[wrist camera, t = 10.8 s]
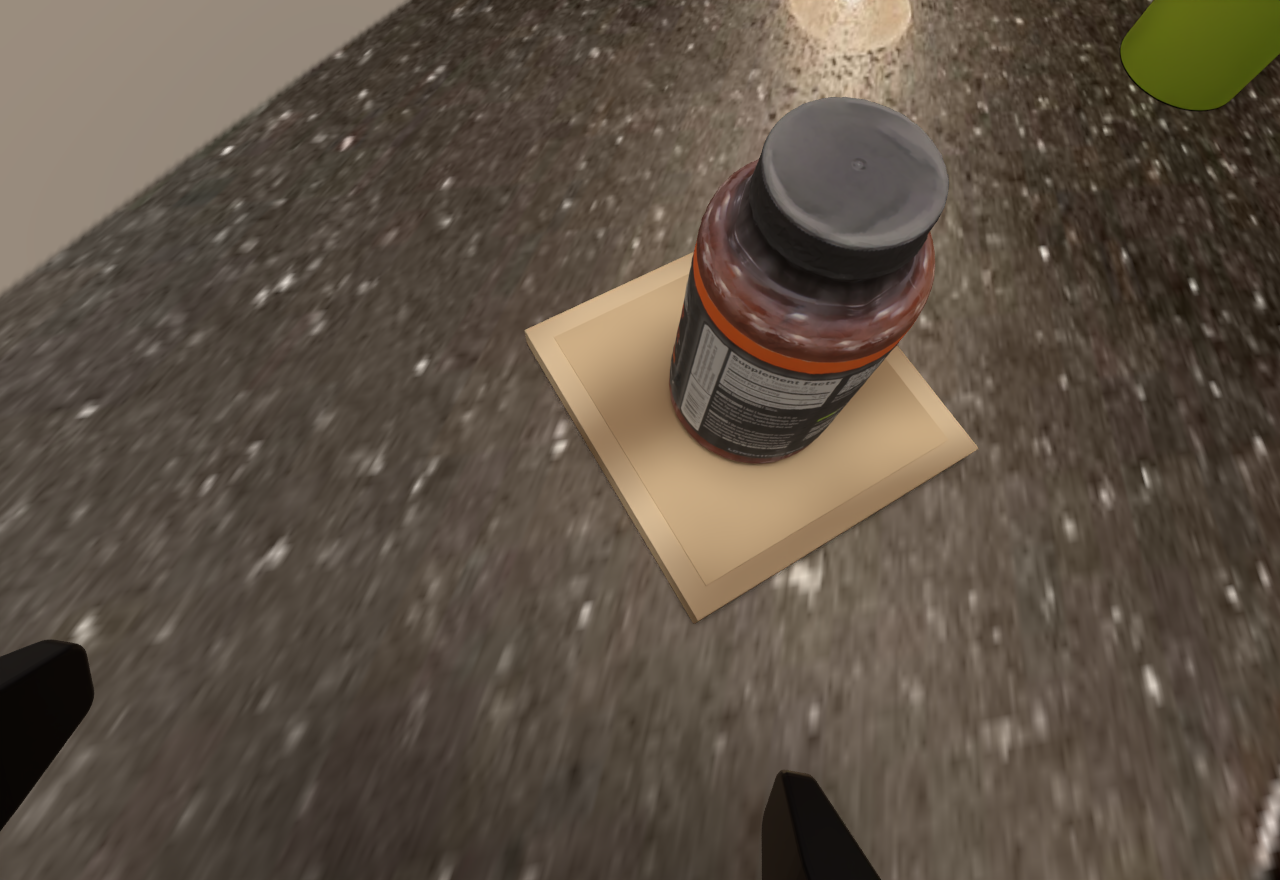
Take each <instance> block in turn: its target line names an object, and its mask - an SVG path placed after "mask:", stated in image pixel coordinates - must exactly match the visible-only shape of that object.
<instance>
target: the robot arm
mask: <svg viewBox="0 0 1280 880" xmlns="http://www.w3.org/2000/svg"><path fill="white" fill-rule="evenodd" d="M93 699H94V687H93V682H92V678H91V673H90V668H89V663H88V658H87V654H86V651H85V649H84V648H83V647H82V646H81V645H79V644H75V643H70V642H64V641H58V640H43V641H40V642H37V643H34V644H32V645H29V646H27V647H24V648H21V649H19V650H16V651H14V652H11V653H9V654H6V655H3V656H1V657H0V831H1V830H2V828H3V827H4V826H5V824H6V823H7V822H8V821H9V819H10V818H11V817H12V815H13V814H14V813H15V811H16V810H17V809H18V807H19V806H20V805H21V803H22V802H23V801H24V799H25V798H26V797H27V795H28V794H29V792H30V791H31V790H32V788H33V787H34V786H35V784H36V783H37V781H38V780H39V779H40V777H41V776H42V775H43V773H44V772H45V770H46V769H47V768H48V766H49V765H50V764H51V762H52V761H53V760H54V758H55V757H56V755H57V754H58V753H59V751H60V750H61V749H62V747H63V746H64V744H65V743H66V742H67V740H68V739H69V738H70V736H71V735H72V733H73V732H74V731H75V729H76V728H77V727H78V725H79V724H80V723H81V721H82V720H83V718H84V717H85V716H86V714H87V713H88V711H89V709H90V707H91V705H92V702H93ZM762 880H881V879H880V877H879V876H878V874H877V873H876V871H875V870H874V868H873V867H872V865H871V864H870V862H869V861H868V859H867V858H866V856H865V854H864V853H863V851H862V850H861V848H860V847H859V845H858V844H857V842H856V841H855V839H854V838H853V836H852V835H851V833H850V832H849V830H848V829H847V827H846V826H845V824H844V823H843V821H842V820H841V818H840V816H839V815H838V813H837V812H836V810H835V809H834V807H833V806H832V804H831V803H830V801H829V800H828V798H827V797H826V795H825V794H824V792H823V791H822V789H821V788H820V786H819V785H818V783H817V781H816V780H815V779H814V778H813V777H812V776H811V775H809V774H806V773H800V772H794V771H789V770H781V771H780V772H779V773H778V774H777V776H776V779H775V782H774V785H773V788H772V791H771V794H770V796H769V799H768V802H767V805H766V808H765V811H764V815H763V821H762Z"/></svg>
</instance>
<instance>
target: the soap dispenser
mask: <svg viewBox="0 0 1280 880" xmlns="http://www.w3.org/2000/svg"><path fill="white" fill-rule="evenodd" d="M1279 54H1280V0H1154V1H1153V2H1152V3H1151V4H1150V6H1149V7H1148V8H1147V9H1146V11H1145V12H1144V13H1143V14H1142V16H1141V17H1140V18H1139V19H1138V21H1137V22H1136V23H1135V24H1134V26H1133V27H1132V28H1131V29H1130V31H1129V32H1128V33H1127V35H1126V36H1125V37H1124V39H1123V41H1122V44H1121V59H1122V62H1123V65H1124V67H1125V69H1126V71H1127V72H1128V74H1129V75H1130V77H1131V78H1132V79H1133V80H1134V81H1135V83H1136V84H1137V85H1139V86H1140V87H1141V88H1142V89H1143V90H1144V91H1146V92H1147V93H1149V94H1150V95H1152V96H1153V97H1155V98H1157V99H1158V100H1160V101H1162V102H1165V103H1167V104H1170V105H1172V106H1175V107H1179V108H1183V109H1189V110H1210V109H1215V108H1218V107H1220V106H1223V105H1225V104H1226V103H1228V102H1229V101H1230V100H1231V99H1232V98H1233V97H1234V96H1236V95H1237V94H1238V93H1239V92H1240V91H1241V90H1242V89H1243V88H1244V87H1245V86H1246V85H1247V84H1248V83H1249V82H1250V81H1251V80H1252V79H1253V78H1254V77H1255V76H1257V75H1258V74H1259V73H1260V72H1261V71H1262V70H1263V69H1264V68H1265V67H1266V66H1267V65H1268V64H1269V63H1270V62H1271V61H1272V60H1273V59H1274V58H1275V57H1277V56H1278V55H1279Z"/></svg>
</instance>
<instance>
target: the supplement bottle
mask: <svg viewBox="0 0 1280 880" xmlns="http://www.w3.org/2000/svg"><path fill="white" fill-rule="evenodd" d="M948 188H949V179H948V174H947V172H946V166H945V164H944V161H943V158H942V155H941V153H940V152H939V150H938V149H937V148H936V146H935V144H934V143H933V141H932V140H931V139H930V138H929V137H928V135H927V134H926V133H925V132H924V131H923V130H922V129H921V128H920V127H919V126H918V125H917V124H915V123H913V122H912V121H911V120H910V119H908V118H907V117H906V116H905V115H903V114H901V113H899V112H896V111H894V110H892V109H890V108H888V107H886V106H883V105H880V104H877V103H875V102H870V101H868V100H865V99H856V98H848V97H842V98H840V97H830V98H823V99H819V100H815V101H812V102H808V103H805V104H802V105H801V106H799V107H797V108H795V109H794V110H792V111H790V112H789V113H787V114H786V115H785V116H784V117H783V118H781V119H780V120H779V121H778V122H777V124H776V125H775V126H774V127H773V129H772V130H771V132H770V133H769V135H768V137H767V139H766V141H765V143H764V146H763V149H762V153H761V156H760V158H759V159H758V160H756V161H754V162H751V163H749V164H747V165H746V166H744V167H743V168H741V169H739V170H738V171H737V172H734V173H733V175H731V176H730V177H729V178H728V180H726V181H725V182H724V183H723V184H722V185H721V186H720V187H719V189H718V190H717V192H716V193H715V195H714V197H713V198H712V199H711V201H710V203H709V205H708V206H707V209H706V212H705V214H704V216H703V217H702V222H701V225H700V228H699V232H698V237H697V242H696V246H695V250H694V253H693V257H692V262H691V268H690V272H689V277H688V282H687V286H686V292H685V298H684V303H683V308H682V313H681V317H680V322H679V326H678V330H677V335H676V340H675V344H674V347H673V353H672V357H671V366H670V378H669V387H670V395H671V401H672V404H673V407H674V410H675V412H676V415H677V416H678V418H679V420H680V421H681V423H682V424H683V425H684V427H685V428H686V430H687V431H688V432H689V433H690V435H691V436H692V437H693V438H695V439H696V440H697V441H698V442H699V443H700V444H701V445H702V446H704V447H705V448H707V449H708V450H710V451H712V452H714V453H716V454H718V455H720V456H722V457H724V458H727V459H730V460H734V461H737V462H744V463H751V464H763V463H773V462H776V461H779V460H782V459H785V458H788V457H790V456H793V455H795V454H797V453H798V452H800V451H801V450H803V449H805V448H806V447H807V446H809V445H810V444H811V443H812V442H813V441H814V440H815V439H816V438H818V437H819V436H820V435H821V433H822V432H823V431H824V430H825V429H826V428H827V427H828V426H829V425H830V423H831V422H832V421H833V420H834V419H835V417H836V416H837V415H838V414H839V413H840V412H841V410H842V409H843V408H844V407H845V406H846V405H847V403H848V402H849V401H850V400H851V398H852V397H853V396H854V395H855V394H856V393H857V392H858V390H859V389H860V388H861V387H862V386H863V385H864V384H865V382H866V381H867V379H868V378H869V377H870V376H871V375H872V374H873V372H874V371H875V370H876V369H877V368H878V367H879V365H880V364H881V363H882V362H883V361H884V359H885V358H886V357H887V356H888V355H889V353H890V352H891V351H892V350H893V349H894V348H895V347H896V346H897V344H898V343H899V341H900V340H901V339H902V338H903V336H904V335H905V334H906V333H907V332H908V330H909V329H910V328H911V327H912V325H913V324H914V322H915V321H916V319H917V318H918V316H919V314H920V312H921V311H922V309H923V307H924V306H925V304H926V301H927V299H928V296H929V294H930V291H931V289H932V285H933V280H934V272H935V251H934V246H933V240H932V236H931V231H930V230H931V229H932V227H933V226H934V225H935V223H936V222H937V220H938V219H939V217H940V215H941V213H942V211H943V209H944V207H945V203H946V200H947V195H948Z"/></svg>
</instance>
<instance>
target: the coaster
mask: <svg viewBox="0 0 1280 880" xmlns="http://www.w3.org/2000/svg"><path fill="white" fill-rule="evenodd" d="M693 253H694V252H693ZM693 253H691V254H688V255H686V256H684V257H682V258H680V259H678V260H675V261H673V262H671V263H669V264H667V265H665V266H662V267H660V268H658V269H656V270H654V271H652V272H649V273H647V274H645V275H643V276H641V277H639V278H637V279H634V280H632V281H630V282H628V283H626V284H624V285H621V286H619V287H617V288H615V289H613V290H611V291H608V292H606V293H604V294H602V295H600V296H598V297H595V298H593V299H591V300H589V301H587V302H585V303H582V304H580V305H578V306H576V307H574V308H572V309H570V310H567V311H565V312H563V313H561V314H559V315H557V316H554V317H552V318H550V319H548V320H546V321H544V322H541V323H539V324H537V325H535V326H533V327H531V328H528V329H526V330H525V335H526V341H527V344H528V346H529V348H530V349H531V351H532V353H533V355H534V356H535V358H536V360H537V361H538V363H539V365H540V366H541V368H542V370H543V371H544V373H545V375H546V376H547V378H548V380H549V381H550V383H551V385H552V386H553V388H554V390H555V392H556V393H557V395H558V397H559V398H560V400H561V402H562V403H563V405H564V407H565V408H566V410H567V412H568V413H569V415H570V417H571V418H572V420H573V422H574V423H575V425H576V427H577V429H578V430H579V432H580V434H581V435H582V437H583V439H584V440H585V442H586V444H587V445H588V447H589V449H590V450H591V452H592V454H593V455H594V457H595V459H596V460H597V462H598V464H599V466H600V467H601V469H602V471H603V472H604V474H605V476H606V477H607V479H608V481H609V482H610V484H611V486H612V487H613V489H614V491H615V492H616V494H617V496H618V498H619V499H620V501H621V503H622V504H623V506H624V508H625V509H626V511H627V513H628V514H629V516H630V518H631V519H632V521H633V523H634V524H635V526H636V528H637V529H638V531H639V533H640V535H641V536H642V538H643V540H644V541H645V543H646V545H647V546H648V548H649V550H650V551H651V553H652V555H653V556H654V558H655V560H656V561H657V563H658V565H659V566H660V568H661V570H662V572H663V573H664V575H665V577H666V578H667V580H668V582H669V583H670V585H671V587H672V588H673V590H674V592H675V593H676V595H677V597H678V598H679V600H680V602H681V604H682V605H683V607H684V609H685V610H686V612H687V614H688V615H689V617H690V619H691V620H692V622H693V624H695V623H697V622H698V621H700V620H701V619H703V618H705V617H706V616H708V615H710V614H711V613H713V612H714V611H716V610H718V609H719V608H721V607H723V606H724V605H726V604H727V603H729V602H731V601H732V600H734V599H736V598H737V597H739V596H740V595H742V594H744V593H745V592H747V591H749V590H750V589H752V588H753V587H755V586H757V585H758V584H760V583H762V582H763V581H765V580H767V579H768V578H770V577H771V576H773V575H775V574H776V573H778V572H780V571H781V570H783V569H784V568H786V567H788V566H789V565H791V564H793V563H794V562H796V561H797V560H799V559H801V558H802V557H804V556H806V555H807V554H809V553H810V552H812V551H814V550H815V549H817V548H819V547H820V546H822V545H823V544H825V543H827V542H828V541H830V540H832V539H833V538H835V537H836V536H838V535H840V534H841V533H843V532H845V531H846V530H848V529H850V528H851V527H853V526H854V525H856V524H858V523H859V522H861V521H863V520H864V519H866V518H867V517H869V516H871V515H872V514H874V513H876V512H877V511H879V510H880V509H882V508H884V507H885V506H887V505H889V504H890V503H892V502H893V501H895V500H897V499H898V498H900V497H902V496H903V495H905V494H906V493H908V492H910V491H911V490H913V489H915V488H916V487H918V486H919V485H921V484H923V483H924V482H926V481H928V480H929V479H931V478H933V477H934V476H936V475H937V474H939V473H941V472H942V471H944V470H946V469H947V468H949V467H950V466H952V465H954V464H955V463H957V462H959V461H960V460H962V459H963V458H965V457H967V456H968V455H970V454H971V453H973V452H974V451H975V450H977V449H978V447H977V446H976V445H975V443H974V442H973V441H972V440H971V438H970V437H969V436H968V434H967V433H966V432H965V431H964V429H963V428H962V427H961V426H960V424H959V423H958V422H957V421H956V419H955V418H954V417H953V415H952V414H951V413H950V412H949V410H948V409H947V408H946V407H945V405H944V404H943V403H942V401H941V400H940V399H939V398H938V396H937V395H936V394H935V393H934V391H933V390H932V389H931V388H930V386H929V385H928V384H927V382H926V381H925V380H924V379H923V377H922V376H921V375H920V374H919V372H918V371H917V370H916V369H915V367H914V366H913V365H912V363H911V362H910V361H909V360H908V358H907V357H906V356H905V355H904V353H903V352H902V351H901V350H900V348H899V347H898V346H896V347H895V348H894V349H893V350H892V351H891V352H890V353H889V355H888V356H887V357H886V358H885V359H884V361H883V362H882V363H881V364H880V365H879V367H878V368H877V369H876V370H875V371H874V372H873V374H872V375H871V376H870V377H869V378H868V379H867V381H866V382H865V384H864V385H863V386H862V387H861V388H860V389H859V390H858V392H857V393H856V394H855V395H854V396H853V397H852V398H851V400H850V401H849V402H848V403H847V405H846V406H845V407H844V408H843V409H842V410H841V412H840V413H839V414H838V415H837V416H836V417H835V419H834V420H833V421H832V422H831V423H830V425H829V426H828V427H827V428H826V429H825V430H824V431H823V432H822V433H821V435H820V436H819V437H818V438H816V439H815V440H814V441H813V442H812V443H811V444H810V445H809V446H807V447H806V448H805V449H803V450H801V451H800V452H798V453H797V454H795V455H793V456H790V457H788V458H785V459H782V460H779V461H776V462H773V463H763V464H751V463H744V462H737V461H734V460H730V459H727V458H724V457H722V456H720V455H718V454H716V453H714V452H712V451H710V450H708V449H707V448H705V447H704V446H702V445H701V444H700V443H699V442H698V441H697V440H696V439H695V438H693V437H692V436H691V435H690V433H689V432H688V431H687V430H686V428H685V427H684V425H683V424H682V423H681V421H680V420H679V418H678V416H677V415H676V412H675V410H674V407H673V404H672V401H671V395H670V387H669V378H670V366H671V357H672V353H673V347H674V344H675V340H676V335H677V330H678V326H679V322H680V317H681V313H682V308H683V303H684V298H685V292H686V286H687V282H688V277H689V272H690V268H691V262H692V257H693Z"/></svg>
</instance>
